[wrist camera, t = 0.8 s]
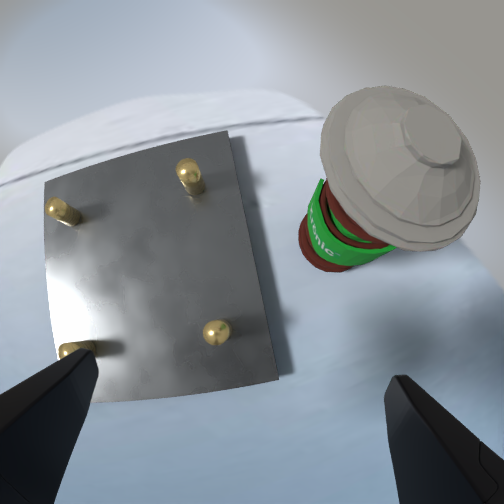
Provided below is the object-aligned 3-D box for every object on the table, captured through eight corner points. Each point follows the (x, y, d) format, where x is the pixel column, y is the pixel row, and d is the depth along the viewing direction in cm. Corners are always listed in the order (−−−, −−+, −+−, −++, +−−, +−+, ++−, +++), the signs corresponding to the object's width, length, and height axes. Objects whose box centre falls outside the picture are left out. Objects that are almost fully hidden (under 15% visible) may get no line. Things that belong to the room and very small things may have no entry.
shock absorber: (274, 210, 23) (299, 61, 8) (354, 189, 23) (452, 55, 8) (301, 296, 22) (386, 268, 7) (382, 270, 22) (533, 210, 7)
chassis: (278, 376, 21) (282, 390, 17) (75, 399, 21) (47, 412, 16) (228, 138, 24) (223, 107, 20) (51, 187, 24) (25, 169, 20)
